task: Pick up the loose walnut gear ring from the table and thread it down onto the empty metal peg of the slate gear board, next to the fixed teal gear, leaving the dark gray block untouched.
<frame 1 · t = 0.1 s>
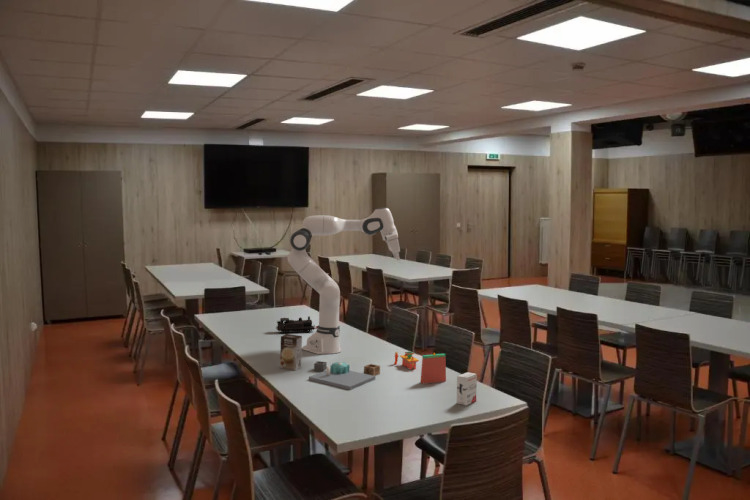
hand: (397, 258, 327), 52 cm above the table, fingers open, 8 cm apart
ink box: (466, 402, 248), on the table
toy train: (295, 332, 372), on the table
toy building block set: (417, 372, 290), on the table
dark gray block: (320, 369, 290), on the table
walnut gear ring: (371, 374, 285), on the table
gear board: (342, 379, 275), on the table
coffee box: (290, 368, 292), on the table
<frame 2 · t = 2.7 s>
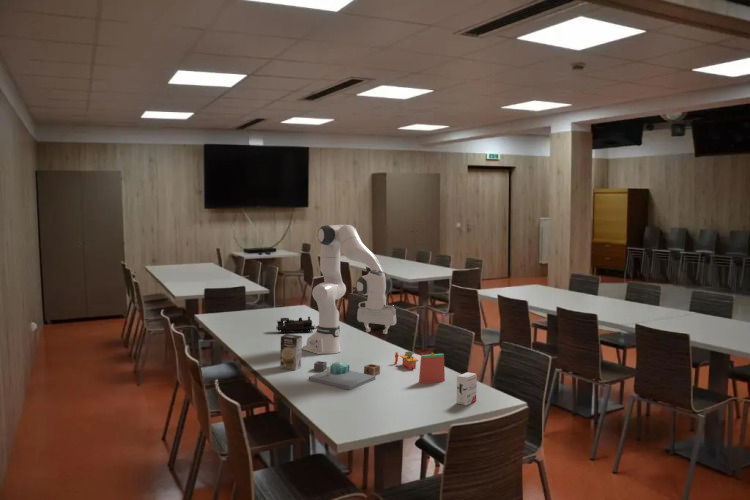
hand: (376, 332, 284), 20 cm above the table, fingers open, 8 cm apart
nothing on the table moved.
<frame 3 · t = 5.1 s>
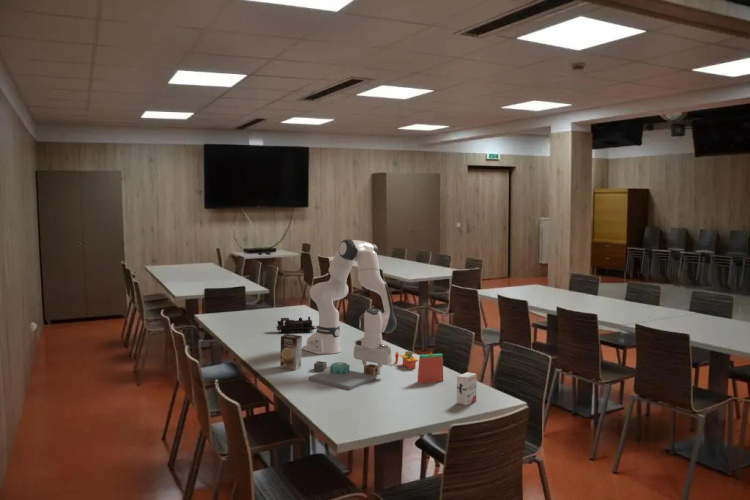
hand: (372, 370, 285), 2 cm above the table, fingers closed on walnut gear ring, 6 cm apart
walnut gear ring: (371, 374, 285), on the table, touching gripper
everything else where it was.
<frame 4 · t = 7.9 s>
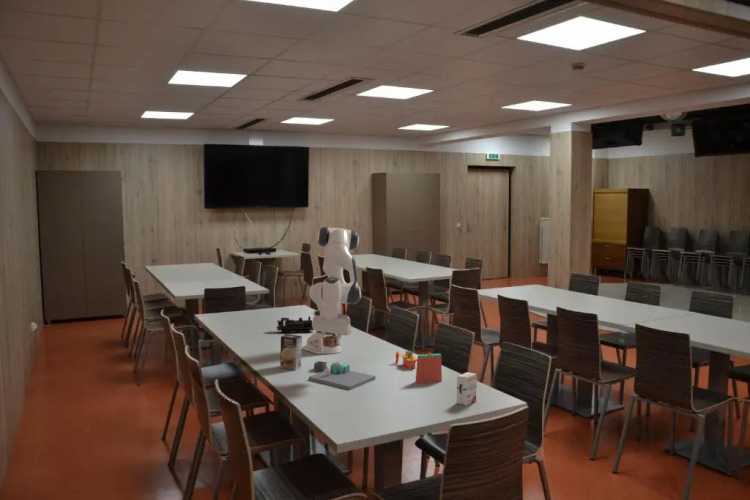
hand: (331, 342, 274), 17 cm above the table, fingers closed on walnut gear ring, 6 cm apart
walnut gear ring: (331, 345, 275), point 16 cm above the table, touching gripper
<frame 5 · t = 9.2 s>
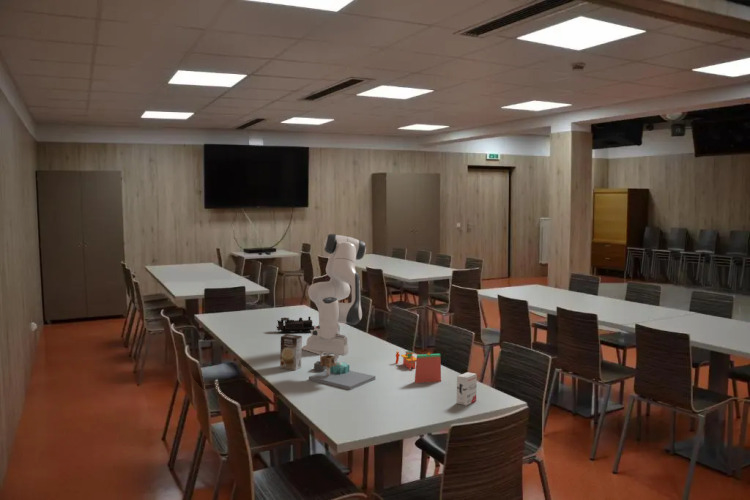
hand: (328, 361, 275), 8 cm above the table, fingers closed on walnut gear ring, 6 cm apart
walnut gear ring: (328, 365, 275), point 7 cm above the table, touching gripper
when the fingers open (4 cm above the table, at t = 10.6 s): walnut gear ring stays where it is, resting on gear board.
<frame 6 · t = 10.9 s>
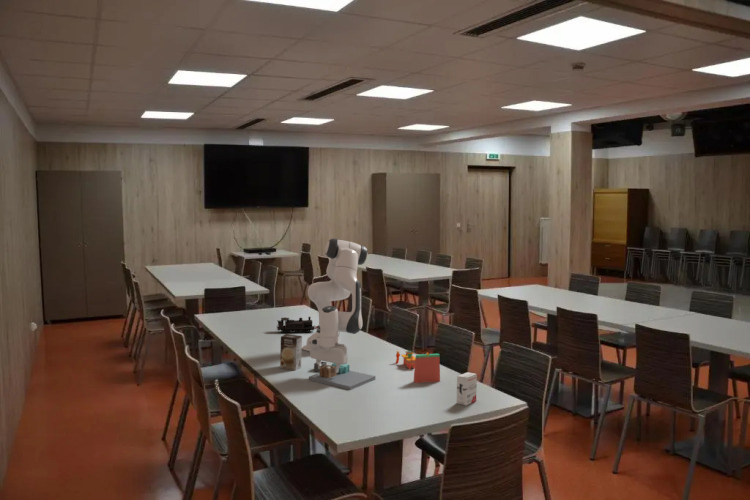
hand: (328, 370, 275), 4 cm above the table, fingers open, 8 cm apart
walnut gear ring: (328, 375, 275), point 1 cm above the table, touching gear board
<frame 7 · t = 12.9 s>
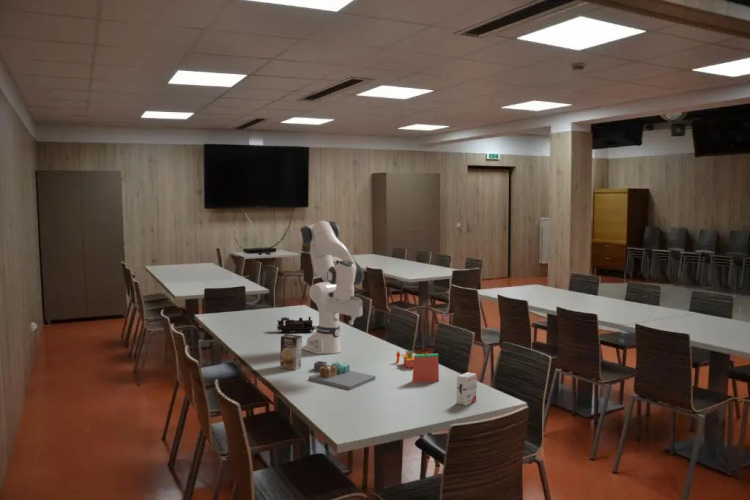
hand: (343, 322, 285), 24 cm above the table, fingers open, 8 cm apart
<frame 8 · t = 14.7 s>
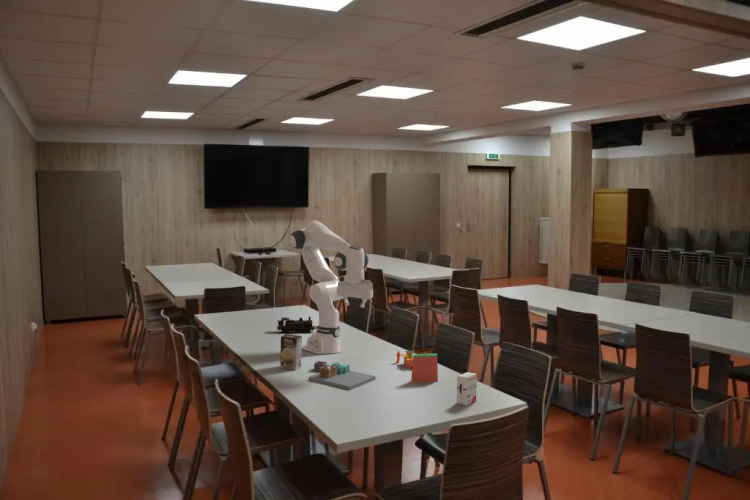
hand: (354, 306, 293), 31 cm above the table, fingers open, 8 cm apart
at the end: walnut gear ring 0.0 cm from the target spot on the gear board, point 1.5 cm above the gear board's base; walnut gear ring tilted 0°; the gripper is holding nothing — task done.
